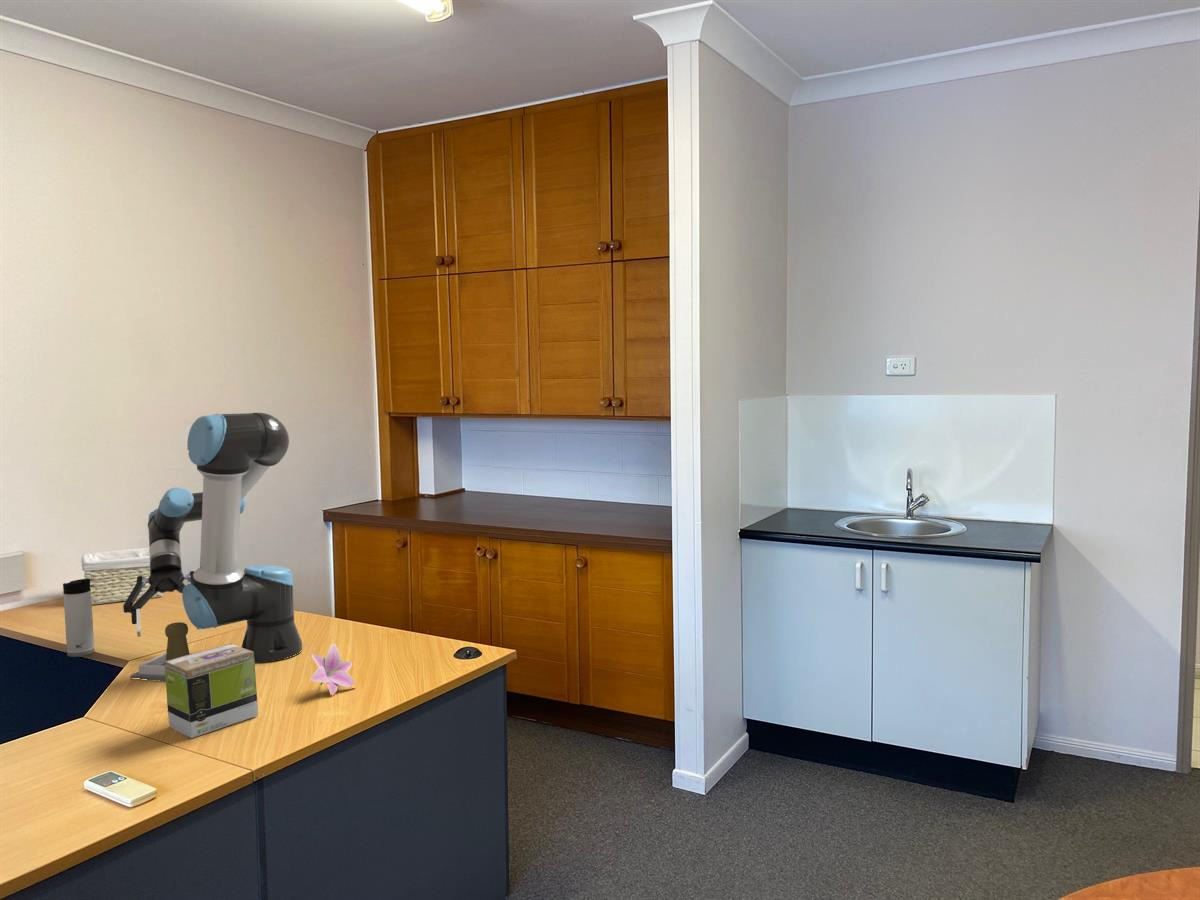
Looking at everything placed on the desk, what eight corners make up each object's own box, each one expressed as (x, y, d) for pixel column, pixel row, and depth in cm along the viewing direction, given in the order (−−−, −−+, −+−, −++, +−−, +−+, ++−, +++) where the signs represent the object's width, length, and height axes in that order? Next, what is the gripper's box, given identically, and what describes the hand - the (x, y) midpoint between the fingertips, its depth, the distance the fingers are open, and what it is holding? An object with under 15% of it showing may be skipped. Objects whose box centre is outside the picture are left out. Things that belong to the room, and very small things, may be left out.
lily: (302, 706, 200) (318, 672, 198) (293, 672, 209) (308, 639, 207) (351, 710, 207) (368, 678, 205) (341, 677, 216) (356, 645, 214)
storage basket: (164, 587, 305) (162, 545, 303) (168, 598, 291) (165, 553, 289) (84, 596, 293) (81, 552, 291) (84, 608, 279) (81, 562, 277)
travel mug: (83, 658, 231) (78, 582, 229) (61, 656, 232) (56, 581, 230) (101, 650, 237) (96, 576, 235) (79, 648, 238) (75, 575, 236)
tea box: (235, 706, 198) (232, 641, 196) (259, 717, 191) (256, 650, 190) (167, 727, 186) (163, 659, 185) (190, 740, 180) (186, 669, 178)
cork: (196, 662, 224) (193, 619, 223) (185, 670, 218) (183, 627, 217) (171, 662, 224) (169, 620, 222) (160, 670, 218) (158, 627, 216)
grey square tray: (211, 664, 225) (211, 652, 225) (179, 682, 212) (178, 670, 212) (165, 661, 227) (165, 650, 227) (130, 679, 215) (130, 667, 214)
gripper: (215, 563, 246) (221, 631, 234) (113, 573, 235) (114, 644, 223) (216, 548, 240) (222, 616, 229) (111, 557, 229) (112, 629, 217)
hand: (169, 630), depth 226 cm, fingers open, 13 cm apart
